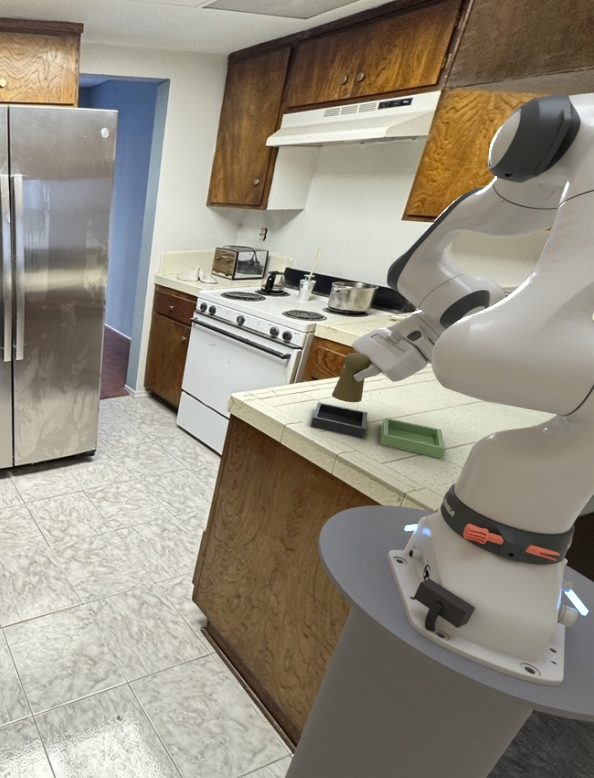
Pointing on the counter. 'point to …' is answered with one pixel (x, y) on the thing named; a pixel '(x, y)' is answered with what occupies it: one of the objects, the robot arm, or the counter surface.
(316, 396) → the counter surface
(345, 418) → the dark tray
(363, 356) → the olive brown pawn
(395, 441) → the green tray
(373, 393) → the counter surface
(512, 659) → the robot arm
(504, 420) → the counter surface
